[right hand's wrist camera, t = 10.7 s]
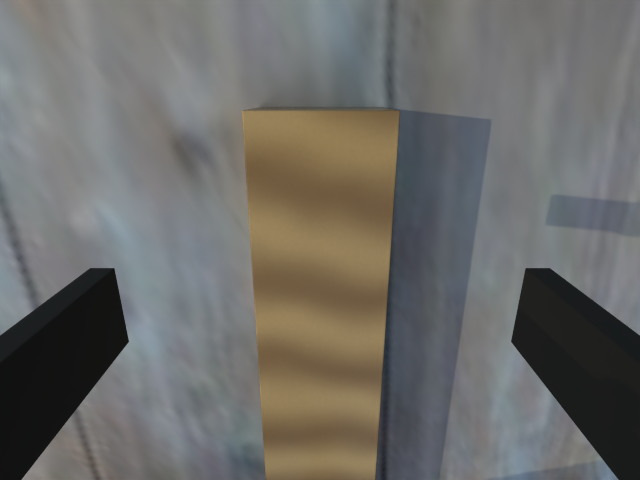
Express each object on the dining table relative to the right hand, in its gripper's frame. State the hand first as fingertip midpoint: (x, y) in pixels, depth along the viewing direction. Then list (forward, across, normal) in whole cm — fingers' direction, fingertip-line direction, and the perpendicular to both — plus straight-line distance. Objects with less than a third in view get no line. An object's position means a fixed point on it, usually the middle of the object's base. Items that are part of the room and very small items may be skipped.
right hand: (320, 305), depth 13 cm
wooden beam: (+21, 0, -34) cm, 40 cm away
